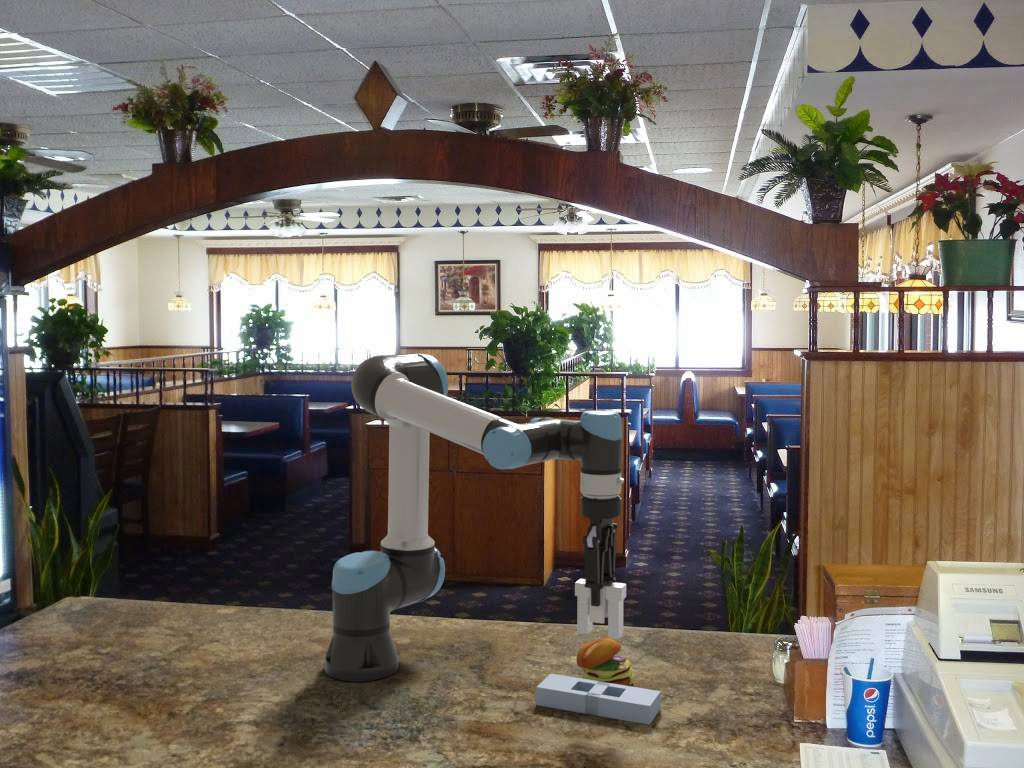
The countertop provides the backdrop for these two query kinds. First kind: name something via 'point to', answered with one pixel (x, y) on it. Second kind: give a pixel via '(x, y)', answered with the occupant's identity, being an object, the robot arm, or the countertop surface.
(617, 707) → the rail
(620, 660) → the cheeseburger
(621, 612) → the clip
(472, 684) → the countertop surface
